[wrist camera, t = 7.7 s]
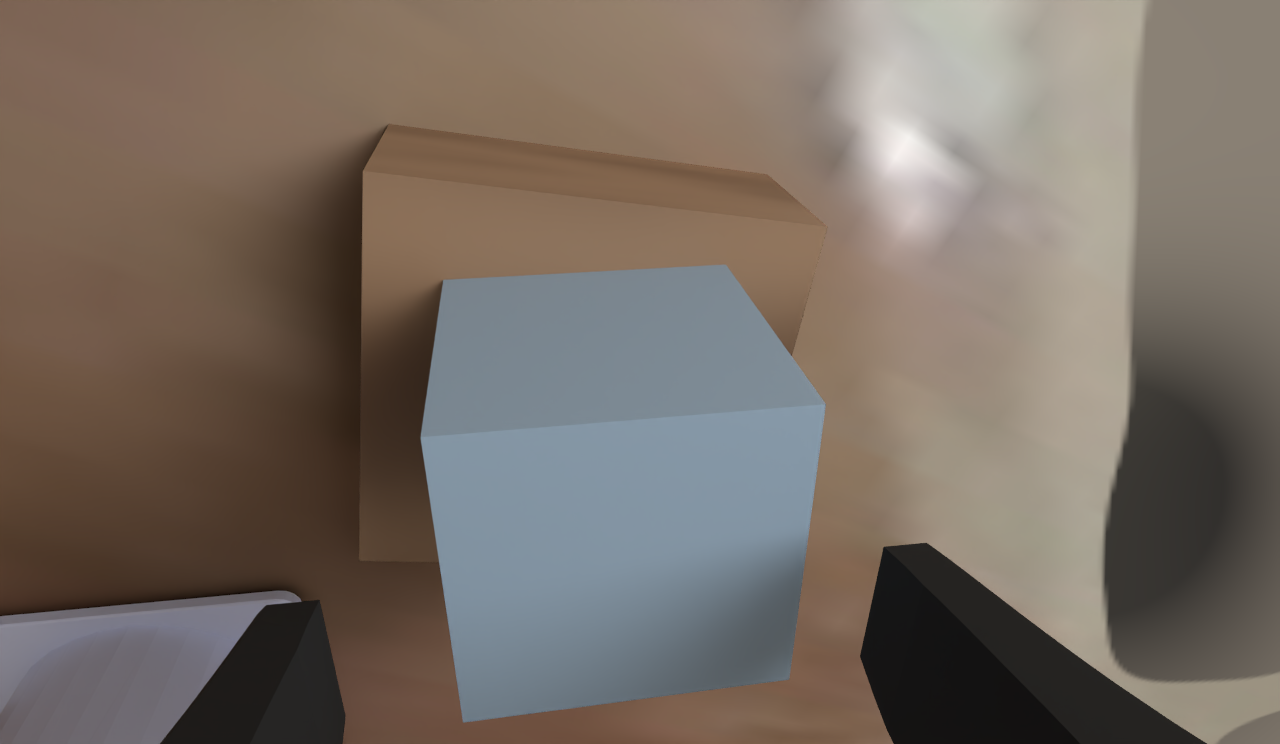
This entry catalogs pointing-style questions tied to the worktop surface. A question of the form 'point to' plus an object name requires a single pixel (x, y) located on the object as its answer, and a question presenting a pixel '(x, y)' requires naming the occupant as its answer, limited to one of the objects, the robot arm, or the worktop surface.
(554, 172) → the walnut block
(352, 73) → the worktop surface
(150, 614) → the robot arm
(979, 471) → the worktop surface
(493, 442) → the slate cube
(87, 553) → the worktop surface
